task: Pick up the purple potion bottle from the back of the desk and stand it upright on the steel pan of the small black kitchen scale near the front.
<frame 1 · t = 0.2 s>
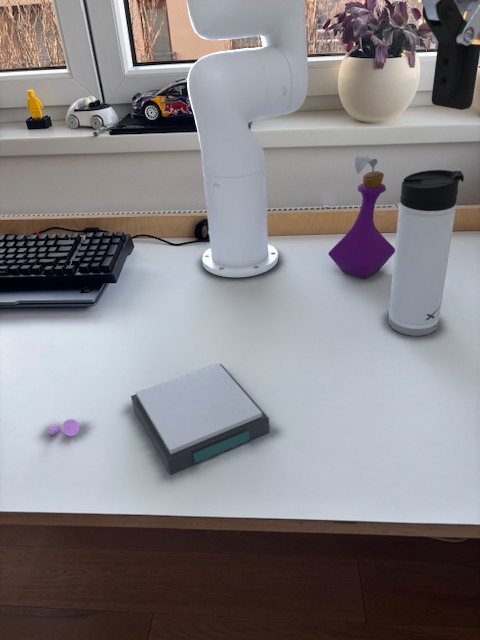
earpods: (65, 433, 58), on the table
travel mug: (413, 325, 71), on the table
purple potion bottle: (360, 271, 85), on the table
kitchen scale: (199, 420, 58), on the table
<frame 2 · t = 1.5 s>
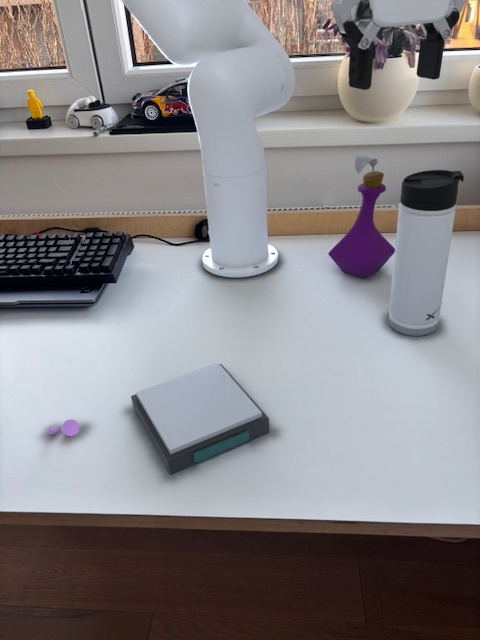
hand: (394, 82, 62), 29 cm above the table, tool pointing down, fingers open, 9 cm apart
nothing on the table moved.
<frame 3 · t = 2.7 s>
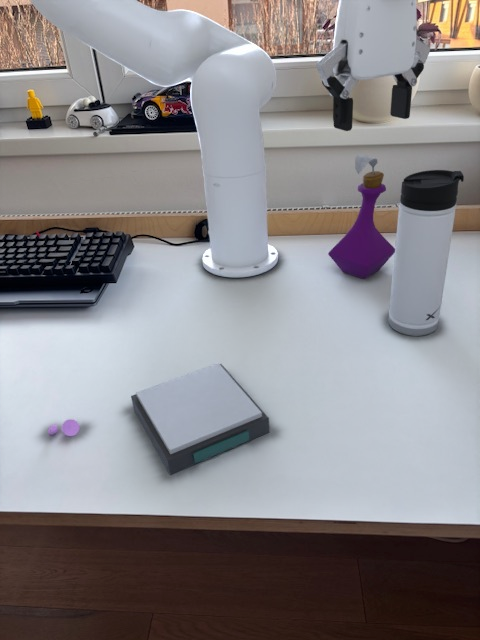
hand: (371, 123, 73), 22 cm above the table, tool pointing down, fingers open, 9 cm apart
nothing on the table moved.
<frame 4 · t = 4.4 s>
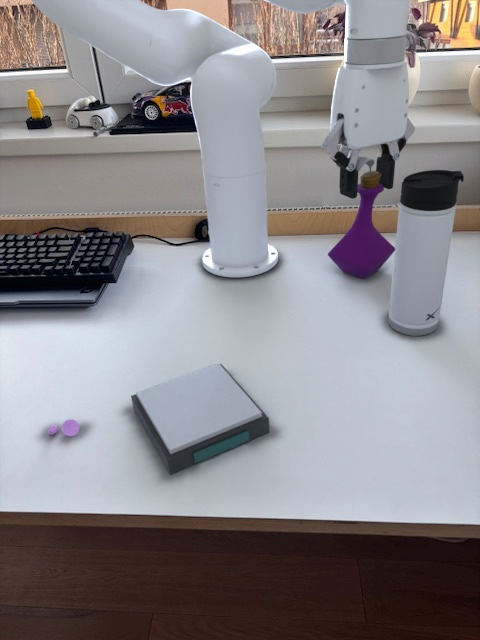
hand: (366, 190, 78), 13 cm above the table, tool pointing down, fingers closed on purple potion bottle, 5 cm apart
purple potion bottle: (360, 271, 85), on the table, touching gripper
everything else where it was.
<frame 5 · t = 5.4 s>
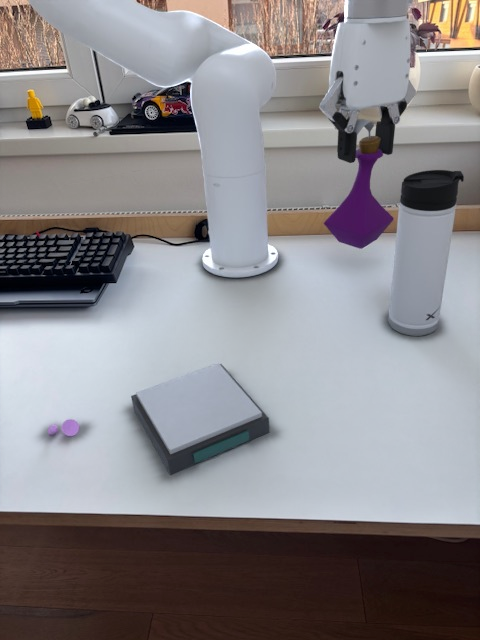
hand: (364, 155, 76), 18 cm above the table, tool pointing down, fingers closed on purple potion bottle, 5 cm apart
purple potion bottle: (357, 241, 83), point 5 cm above the table, touching gripper
everything else where it was.
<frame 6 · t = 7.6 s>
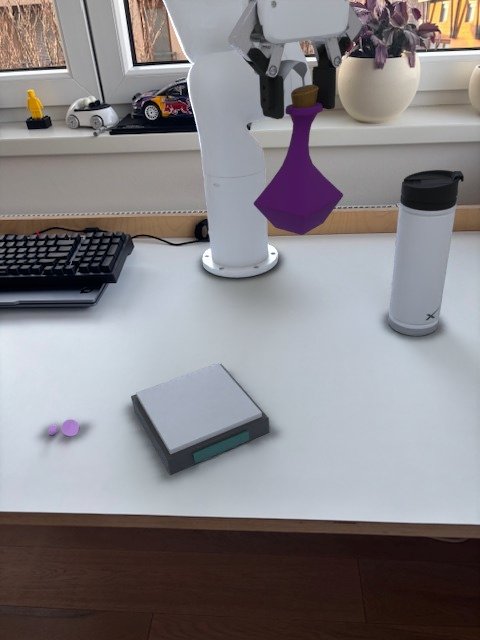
hand: (298, 110, 58), 28 cm above the table, tool pointing down, fingers closed on purple potion bottle, 5 cm apart
purple potion bottle: (299, 227, 64), point 14 cm above the table, touching gripper
everything else where it was.
when the fingers open (16 cm above the table, at t = 12.3 s): purple potion bottle stays where it is, resting on kitchen scale.
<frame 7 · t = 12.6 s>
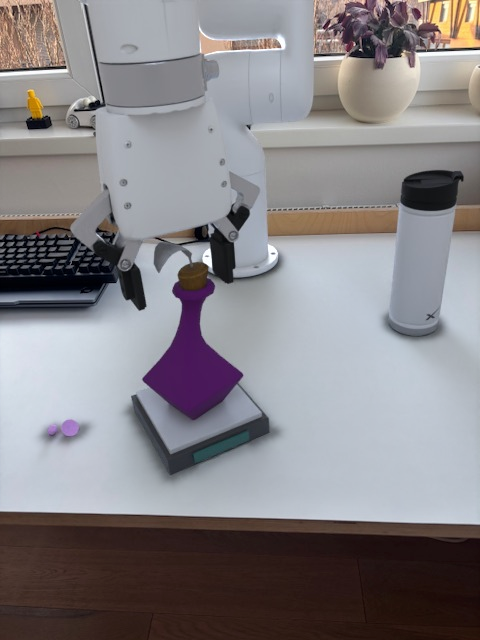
hand: (181, 289, 50), 16 cm above the table, tool pointing down, fingers open, 8 cm apart
purple potion bottle: (196, 403, 57), point 2 cm above the table, touching kitchen scale
everything else where it was.
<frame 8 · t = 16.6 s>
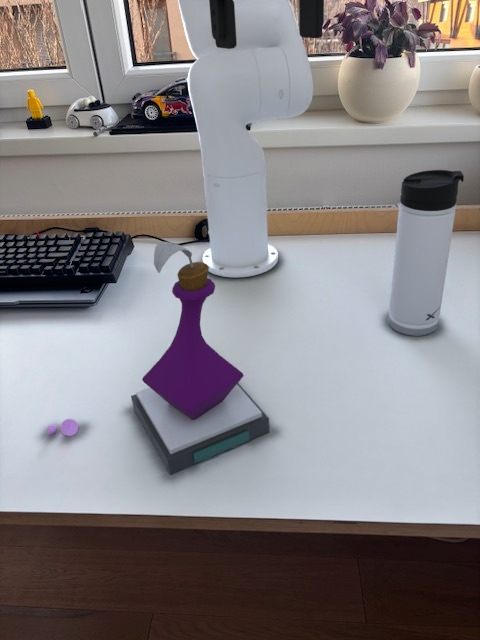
hand: (269, 42, 54), 34 cm above the table, tool pointing down, fingers open, 9 cm apart
nothing on the table moved.
at the end: purple potion bottle inside the target area on the kitchen scale (0.1 cm from its centre), point 2.4 cm above the kitchen scale's base; purple potion bottle tilted 0°; the gripper is holding nothing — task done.
